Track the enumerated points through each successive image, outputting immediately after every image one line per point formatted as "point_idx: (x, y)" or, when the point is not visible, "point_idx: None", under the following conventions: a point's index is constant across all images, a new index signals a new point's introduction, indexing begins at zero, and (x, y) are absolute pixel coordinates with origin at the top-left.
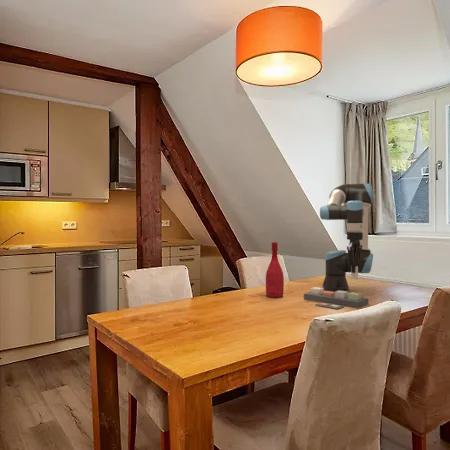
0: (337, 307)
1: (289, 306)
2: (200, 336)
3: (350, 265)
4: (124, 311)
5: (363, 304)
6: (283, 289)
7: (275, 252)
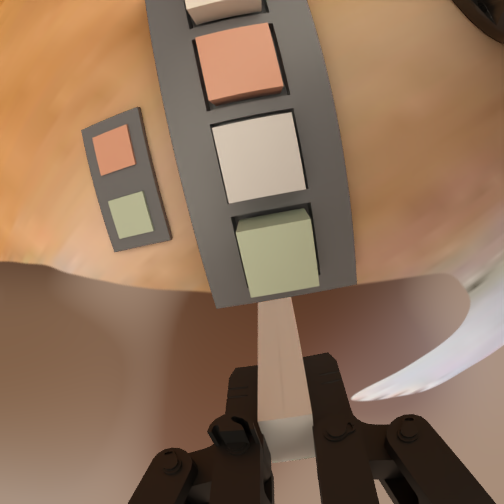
0: (126, 237)
1: (12, 90)
2: None
3: (218, 435)
4: None
5: None
6: None
7: None
